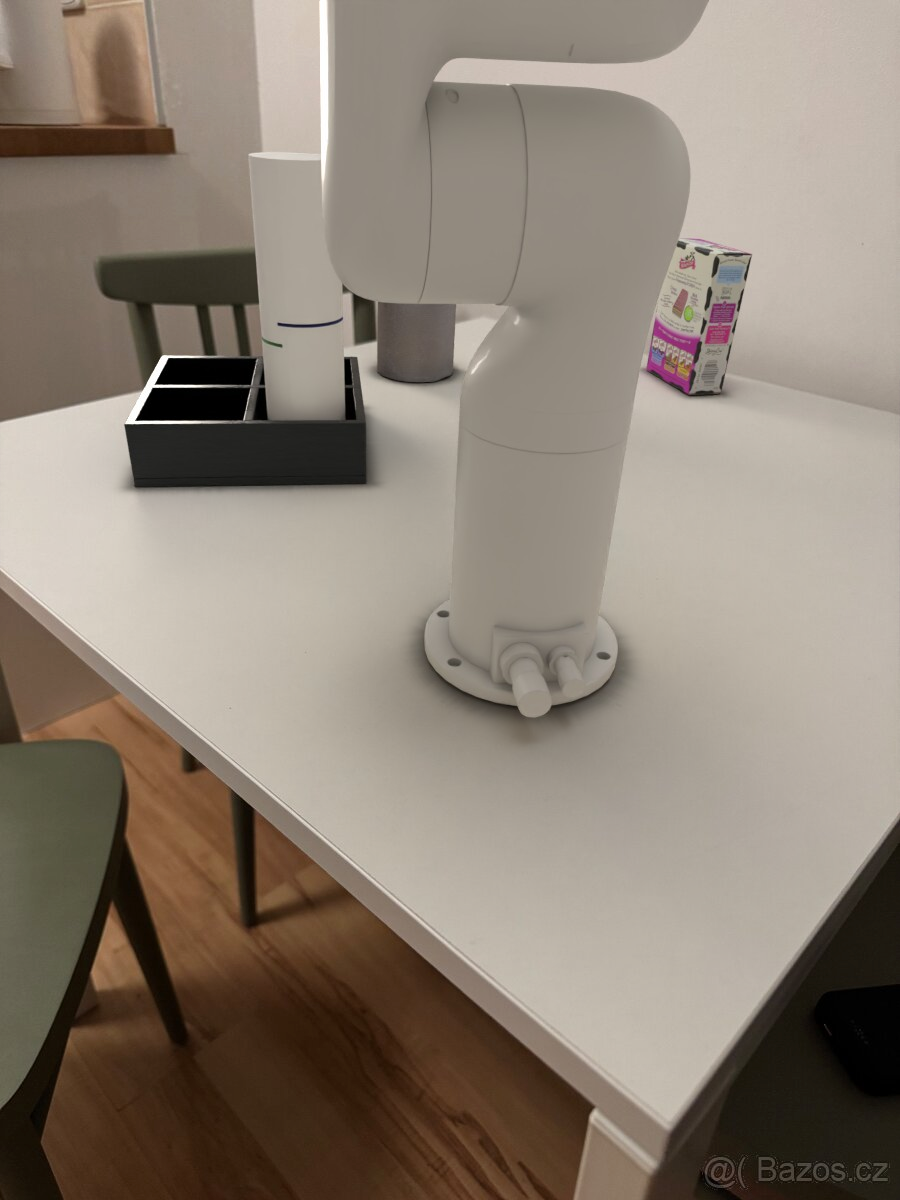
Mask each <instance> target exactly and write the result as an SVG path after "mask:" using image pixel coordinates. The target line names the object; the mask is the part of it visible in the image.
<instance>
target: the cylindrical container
mask: <svg viewBox="0 0 900 1200" xmlns="http://www.w3.org/2000/svg"><path fill="white" fill-rule="evenodd" d="M247 157H248V171H249V184H250V197H251V198H250V199H251V212H252V224H253V237H254V251H255V252H254V253H255V264H256V265H255V267H256V278H257V291H258V292H257V293H258V307H259V318H260V319H259V320H260V331H261V333H260V335H261V346H262V356H263V361H264V374H265V388H266V402H267V415H268V420H345V382H344V357H345V341H344V339H345V338H344V337H345V336H344V335H345V334H344V300H343V298H344V297H343V296H344V295H343V283H342V282H341V281H340V279H339V278H338V276H337V275H336V273H335V271H334V268H333V266H332V264H331V261H330V258H329V254H328V250H327V244H326V239H325V233H324V222H323V211H322V181H321V153H315V152H314V153H313V152H297V151H296V152H295V151H260V152H251V153H248V154H247Z"/></svg>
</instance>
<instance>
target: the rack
mask: <svg viewBox="0 0 900 1200" xmlns="http://www.w3.org/2000/svg"><path fill="white" fill-rule="evenodd" d="M344 382H345V420H268V415H267V402H266V388H265V374H264V361H263V355H161V356H160V359H159V361H158V362H157V364H156V366H155V368H154V370H153V371H152V373H151V375H150V377H149V379H148V381H147V382H146V384H145V386H144V388H143V389H142V391H141V394H140V395H139V397H138V399H137V400H136V402H135V404H134V406H133V407H132V409H131V411H130V413H129V415H128V417H127V418H126V420H125V422H124V424H123V426H124V431H125V432H124V433H125V438H126V443H127V449H128V455H129V461H130V468H131V473H132V478H133V484H134V487H135V488H143V487H144V488H146V487H147V488H148V487H149V488H151V487H156V488H157V487H205V486H206V487H213V486H214V487H215V486H217V487H219V486H223V487H224V486H275V485H276V486H280V485H281V486H282V485H283V486H285V485H348V484H349V485H350V484H351V485H352V484H353V485H355V484H367V483H368V480H367V479H368V477H367V476H368V475H367V473H368V472H367V468H368V467H367V421H366V413H365V405H364V397H363V389H362V383H361V373H360V366H359V359H358V356H344Z"/></svg>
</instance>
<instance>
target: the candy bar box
mask: <svg viewBox="0 0 900 1200" xmlns="http://www.w3.org/2000/svg"><path fill="white" fill-rule="evenodd" d="M752 257H753V253H751V252H746V251H743V250H740V249H736V248H734V247H730V246H726V245H722V244H719V243H717V242H713V241H708V240H706V239H701V238H685V237H684V238H679V239H678V243H677V246H676V248H675V251H674V254H673V257H672V260H671V263H670V265H669V268H668V271H667V274H666V277H665V279H664V282H663V285H662V288H661V291H660V295H659V298H658V301H657V304H656V311H655V316H654V323H653V328H652V334H651V339H650V345H649V346H650V347H649V351H648V358H647V363H646V368H645V369H646V371H648V372H649V373H651V374H653V376H656V377H657V378H659V379H660V380H662V381H664V382H666V383H668V384H669V385H671V386H673V387H674V388H676V389H678V390H680V391H682V392H683V393H685V394H687V395H689V396H696V395H697V396H700V395H716V394H721V393H722V392H723V387H724V382H725V377H726V374H727V369H728V364H729V360H730V355H731V350H732V346H733V341H734V338H735V332H736V327H737V324H738V323H737V322H738V319H739V315H740V310H741V306H742V302H743V296H744V293H745V287H746V283H747V278H748V275H749V271H750V265H751V262H752Z"/></svg>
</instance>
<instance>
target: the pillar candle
mask: <svg viewBox="0 0 900 1200" xmlns="http://www.w3.org/2000/svg"><path fill="white" fill-rule="evenodd" d="M456 313H457V304H400V303H385V302H377V315H376V317H377V318H376V319H377V321H376V324H377V325H376V326H377V327H376V328H377V330H376V360H377V361H376V370H377V372H378V373H379V375H381V376H382V377H385V378H388V379H391V380H395V381H400V382H407V383H427V382H429V383H431V382H437V381H440V380H442V379H444V378H446V377H451V375H453V373H454V359H455V337H456V320H457V319H456V318H457V316H456Z"/></svg>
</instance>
